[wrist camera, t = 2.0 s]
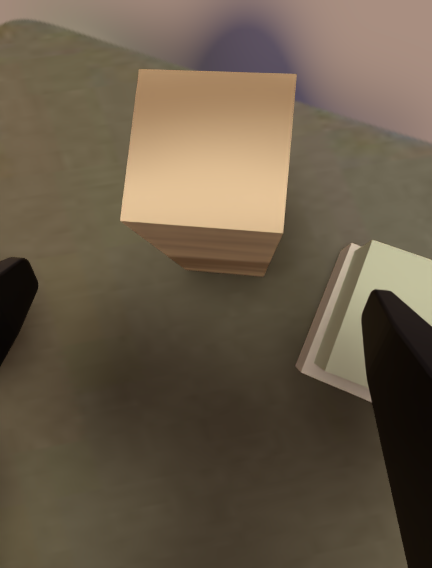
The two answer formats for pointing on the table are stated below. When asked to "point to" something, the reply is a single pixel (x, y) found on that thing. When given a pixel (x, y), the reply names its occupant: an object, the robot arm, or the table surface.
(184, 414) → the table surface
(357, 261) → the tower top
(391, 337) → the robot arm
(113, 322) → the table surface
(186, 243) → the pillar
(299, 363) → the tower bottom
